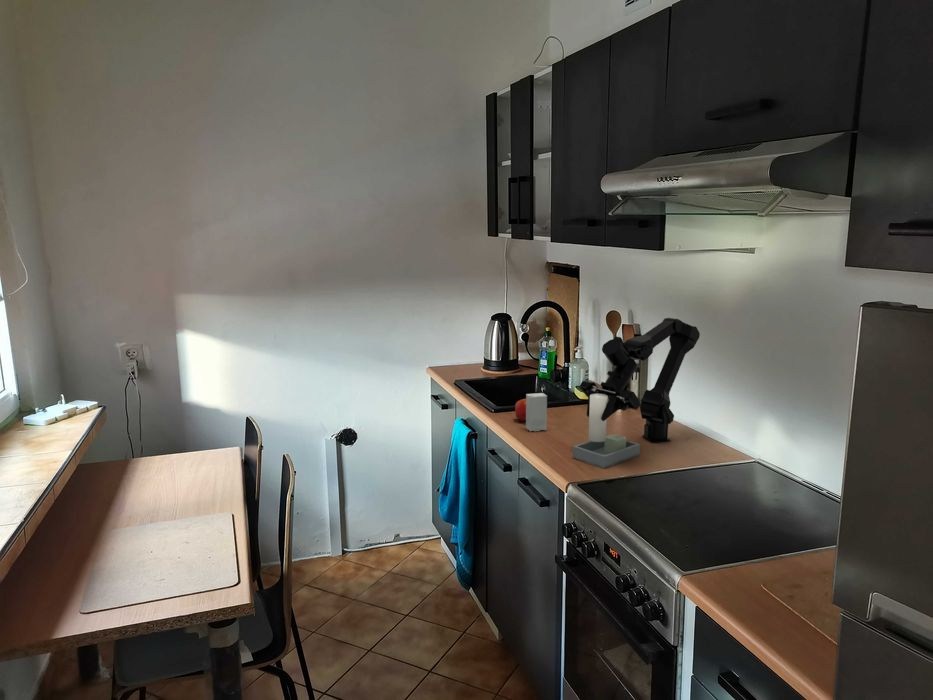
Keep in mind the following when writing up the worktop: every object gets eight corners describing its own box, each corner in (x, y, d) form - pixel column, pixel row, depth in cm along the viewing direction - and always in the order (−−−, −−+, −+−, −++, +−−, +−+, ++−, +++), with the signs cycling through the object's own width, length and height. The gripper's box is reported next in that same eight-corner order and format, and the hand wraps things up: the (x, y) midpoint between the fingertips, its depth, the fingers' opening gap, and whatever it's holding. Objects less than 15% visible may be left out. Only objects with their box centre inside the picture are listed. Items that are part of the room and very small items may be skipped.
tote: (607, 445, 211) (608, 435, 210) (639, 455, 202) (640, 444, 202) (572, 457, 200) (572, 446, 200) (604, 468, 192) (604, 456, 191)
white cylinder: (595, 435, 202) (597, 392, 200) (609, 439, 198) (611, 396, 196) (584, 439, 199) (586, 395, 196) (598, 443, 195) (600, 399, 193)
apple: (535, 425, 232) (536, 402, 230) (511, 423, 234) (511, 400, 233) (540, 419, 239) (540, 397, 238) (517, 417, 242) (517, 395, 240)
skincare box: (542, 427, 230) (543, 392, 228) (547, 431, 226) (548, 395, 223) (524, 428, 228) (525, 393, 226) (529, 432, 224) (530, 396, 222)
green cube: (604, 451, 204) (604, 437, 203) (613, 448, 207) (614, 434, 206) (616, 455, 201) (617, 440, 200) (625, 452, 204) (626, 437, 203)
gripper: (658, 397, 199) (632, 441, 194) (607, 385, 213) (582, 426, 208) (643, 374, 192) (616, 419, 188) (591, 363, 207) (565, 405, 202)
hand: (594, 418), depth 197 cm, fingers closed on white cylinder, 5 cm apart
